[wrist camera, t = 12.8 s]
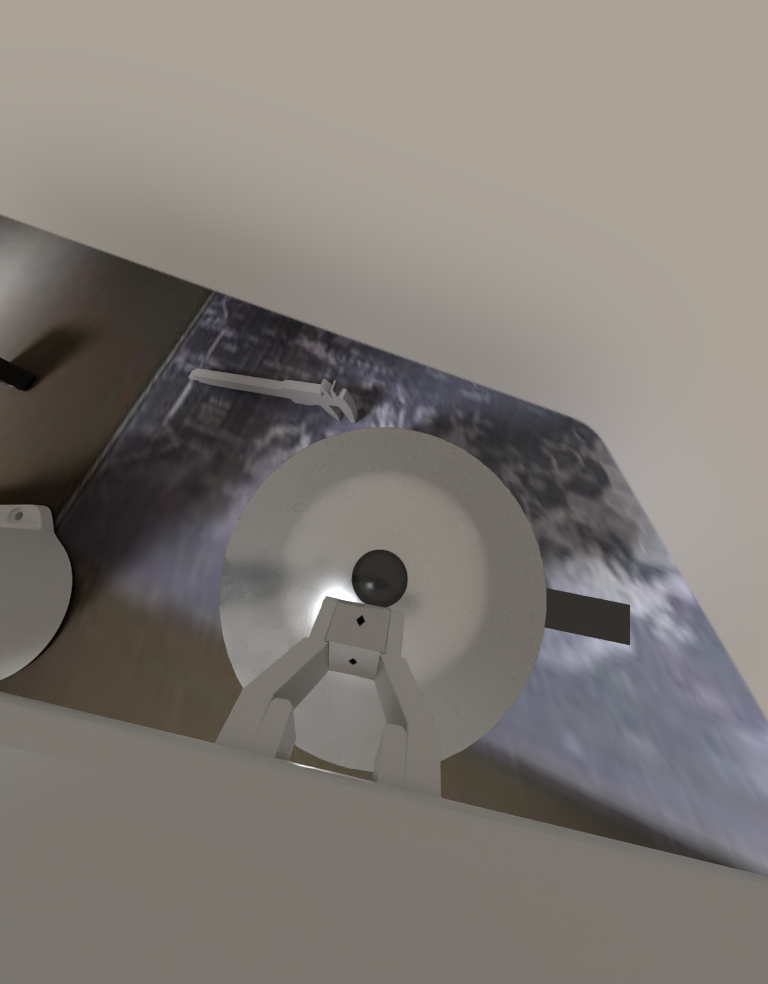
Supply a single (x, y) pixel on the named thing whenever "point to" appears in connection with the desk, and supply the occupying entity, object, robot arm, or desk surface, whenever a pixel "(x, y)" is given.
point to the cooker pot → (587, 616)
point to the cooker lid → (389, 582)
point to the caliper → (287, 391)
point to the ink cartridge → (14, 375)
